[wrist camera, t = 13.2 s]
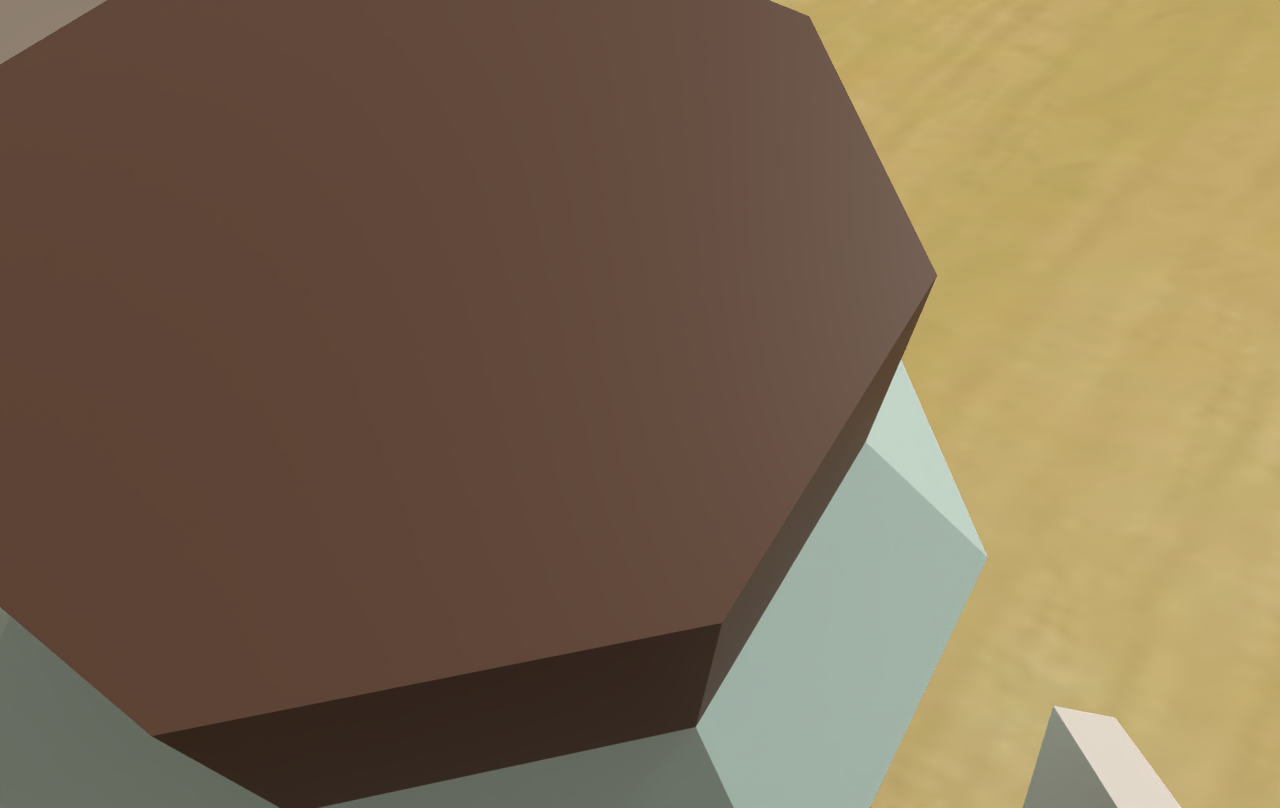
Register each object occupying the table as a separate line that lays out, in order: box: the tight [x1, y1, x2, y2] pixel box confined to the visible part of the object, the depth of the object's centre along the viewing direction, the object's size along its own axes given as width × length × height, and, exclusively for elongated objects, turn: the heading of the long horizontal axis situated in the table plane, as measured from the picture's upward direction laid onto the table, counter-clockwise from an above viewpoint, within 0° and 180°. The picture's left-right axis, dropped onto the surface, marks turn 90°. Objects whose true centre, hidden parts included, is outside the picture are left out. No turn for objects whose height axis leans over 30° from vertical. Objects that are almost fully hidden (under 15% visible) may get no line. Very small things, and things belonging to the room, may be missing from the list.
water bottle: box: [0, 0, 987, 808], centre depth 16 cm, size 10×10×25 cm
